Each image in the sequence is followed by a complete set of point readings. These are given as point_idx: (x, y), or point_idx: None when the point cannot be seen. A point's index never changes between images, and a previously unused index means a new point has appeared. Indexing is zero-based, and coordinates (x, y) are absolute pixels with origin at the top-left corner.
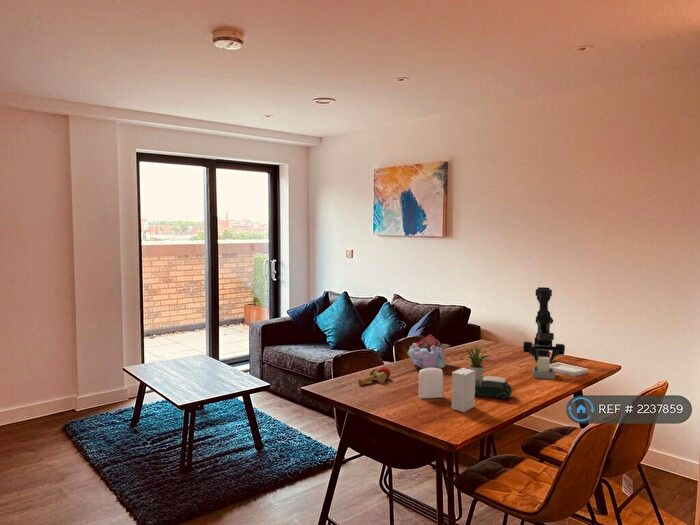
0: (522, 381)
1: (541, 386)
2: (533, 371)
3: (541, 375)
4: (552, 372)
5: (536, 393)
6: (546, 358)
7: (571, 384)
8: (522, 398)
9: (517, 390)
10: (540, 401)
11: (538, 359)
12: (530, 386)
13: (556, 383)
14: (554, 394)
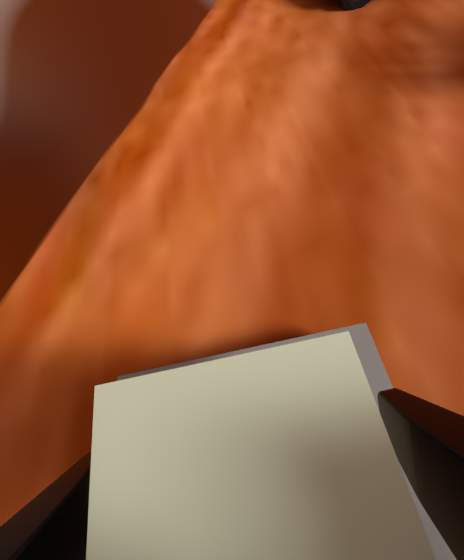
0: (381, 199)
1: (228, 171)
2: (359, 324)
3: None
4: None
5: (232, 74)
6: (163, 427)
7: (23, 319)
8: (272, 12)
9: (329, 61)
10: (201, 24)
11: (340, 344)
12: (290, 138)
13: (133, 284)
14: (150, 102)
